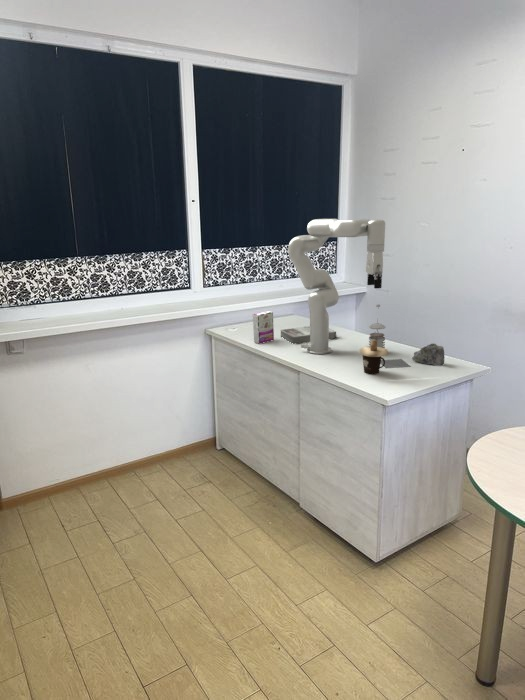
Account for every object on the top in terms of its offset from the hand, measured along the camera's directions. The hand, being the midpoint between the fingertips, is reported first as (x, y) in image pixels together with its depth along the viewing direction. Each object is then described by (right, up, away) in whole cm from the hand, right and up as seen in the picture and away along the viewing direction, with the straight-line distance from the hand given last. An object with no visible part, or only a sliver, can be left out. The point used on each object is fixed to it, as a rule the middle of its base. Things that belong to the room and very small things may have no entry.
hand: (374, 286), depth 229 cm
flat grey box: (-25, -22, +59) cm, 67 cm away
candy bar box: (-50, -24, +52) cm, 76 cm away
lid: (-2, -30, -9) cm, 32 cm away
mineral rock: (+27, -35, +7) cm, 45 cm away
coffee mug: (-2, -40, -6) cm, 40 cm away
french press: (+6, -31, +24) cm, 40 cm away
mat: (+10, -36, +6) cm, 38 cm away
